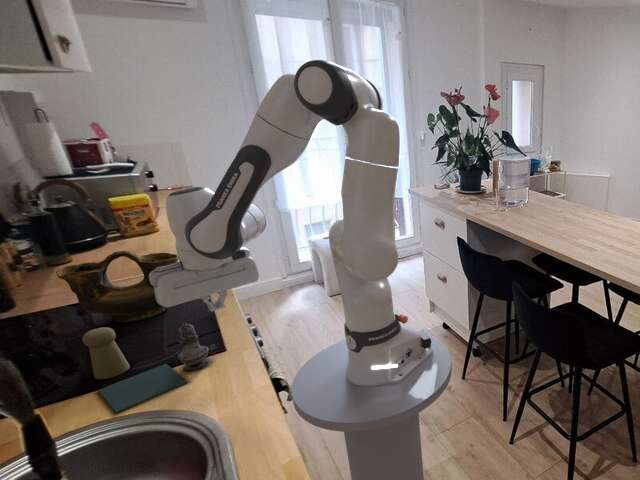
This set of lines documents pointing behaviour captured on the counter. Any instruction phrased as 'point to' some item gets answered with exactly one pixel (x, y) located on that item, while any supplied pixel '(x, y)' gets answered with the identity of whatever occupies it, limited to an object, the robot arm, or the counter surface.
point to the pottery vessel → (116, 287)
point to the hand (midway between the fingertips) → (216, 309)
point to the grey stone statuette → (192, 350)
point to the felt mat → (141, 387)
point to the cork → (105, 353)
